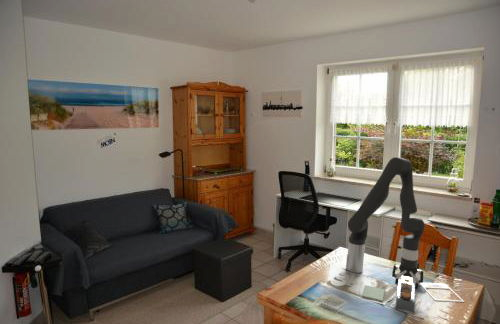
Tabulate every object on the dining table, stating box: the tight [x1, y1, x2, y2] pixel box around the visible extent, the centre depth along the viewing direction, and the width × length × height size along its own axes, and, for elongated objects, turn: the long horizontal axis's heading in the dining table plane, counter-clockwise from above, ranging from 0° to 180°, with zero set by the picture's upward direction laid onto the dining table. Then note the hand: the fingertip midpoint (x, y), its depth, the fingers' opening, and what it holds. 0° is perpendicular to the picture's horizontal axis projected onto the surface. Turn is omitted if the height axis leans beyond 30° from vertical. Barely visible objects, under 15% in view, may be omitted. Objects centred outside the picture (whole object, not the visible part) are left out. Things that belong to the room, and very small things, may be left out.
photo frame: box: [419, 282, 465, 303], centre depth 183 cm, size 15×1×18 cm
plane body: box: [395, 276, 416, 313], centre depth 174 cm, size 22×8×13 cm, turn 155°
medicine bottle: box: [402, 261, 421, 286], centre depth 193 cm, size 7×7×12 cm
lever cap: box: [400, 275, 412, 293], centre depth 175 cm, size 8×5×5 cm, turn 155°
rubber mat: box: [361, 284, 385, 303], centre depth 179 cm, size 10×12×1 cm
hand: (406, 287), depth 175 cm, fingers open, 8 cm apart
